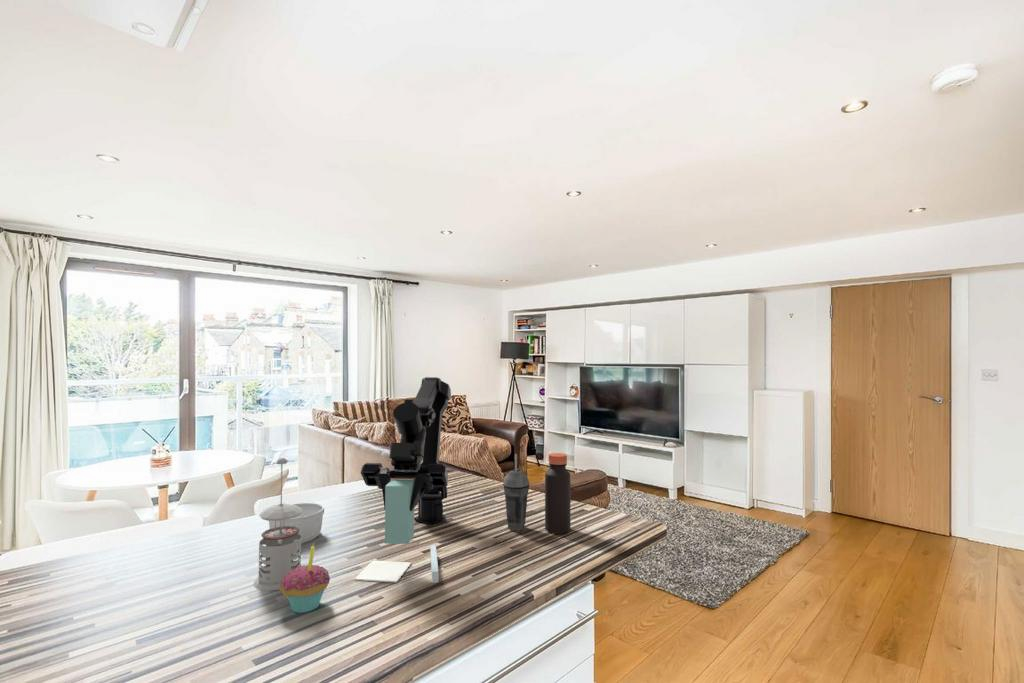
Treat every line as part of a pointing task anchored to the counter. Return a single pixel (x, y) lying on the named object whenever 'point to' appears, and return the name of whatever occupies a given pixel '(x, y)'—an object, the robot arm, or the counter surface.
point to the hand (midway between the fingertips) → (398, 510)
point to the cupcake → (305, 585)
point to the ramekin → (304, 521)
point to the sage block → (399, 512)
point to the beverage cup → (516, 497)
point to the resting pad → (383, 571)
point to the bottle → (557, 495)
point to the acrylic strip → (434, 564)
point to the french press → (277, 556)
